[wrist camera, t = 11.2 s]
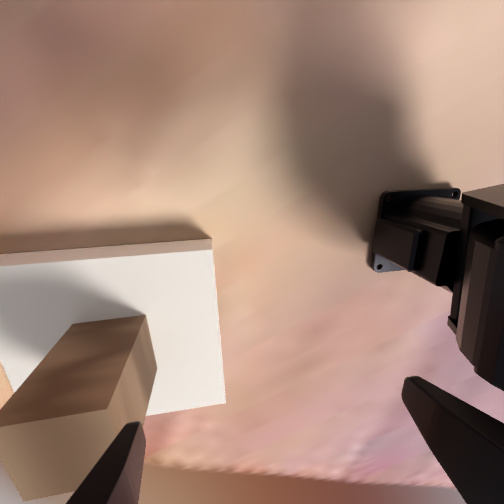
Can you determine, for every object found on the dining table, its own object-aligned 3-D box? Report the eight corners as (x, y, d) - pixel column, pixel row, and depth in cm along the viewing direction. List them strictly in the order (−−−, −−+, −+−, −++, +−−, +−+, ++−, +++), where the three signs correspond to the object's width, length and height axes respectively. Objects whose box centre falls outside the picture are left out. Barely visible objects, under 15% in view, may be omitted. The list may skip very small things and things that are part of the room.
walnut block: (145, 314, 17) (107, 409, 11) (157, 368, 19) (129, 480, 12) (72, 323, 17) (-17, 429, 10) (90, 378, 18) (23, 501, 12)
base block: (211, 238, 19) (212, 249, 16) (224, 378, 23) (225, 403, 21) (-6, 254, 17) (-41, 269, 14) (52, 404, 21) (32, 434, 19)
